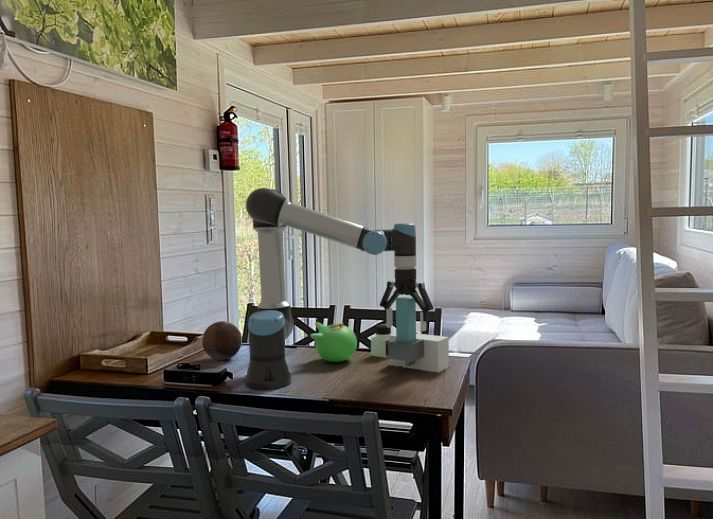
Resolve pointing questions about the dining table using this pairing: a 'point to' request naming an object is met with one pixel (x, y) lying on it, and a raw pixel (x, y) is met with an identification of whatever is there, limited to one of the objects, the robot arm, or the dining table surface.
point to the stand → (429, 354)
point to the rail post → (405, 320)
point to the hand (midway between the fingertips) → (406, 328)
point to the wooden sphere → (221, 340)
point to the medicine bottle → (381, 341)
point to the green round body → (334, 342)
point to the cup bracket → (406, 351)
